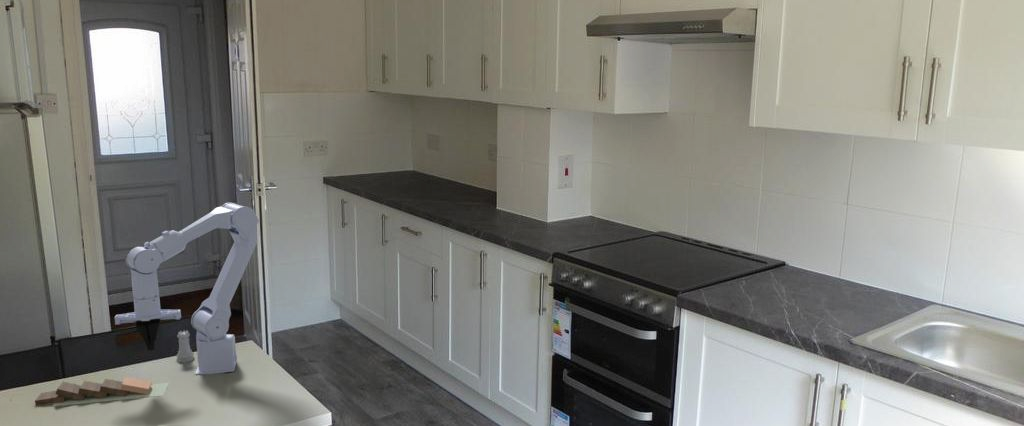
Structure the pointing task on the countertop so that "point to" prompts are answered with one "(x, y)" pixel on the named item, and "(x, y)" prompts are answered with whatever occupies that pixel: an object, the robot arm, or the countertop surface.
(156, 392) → the sage mat
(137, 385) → the terracotta domino
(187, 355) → the rook chess piece
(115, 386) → the domino
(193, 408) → the countertop surface
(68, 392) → the domino
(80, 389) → the domino
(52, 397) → the domino
